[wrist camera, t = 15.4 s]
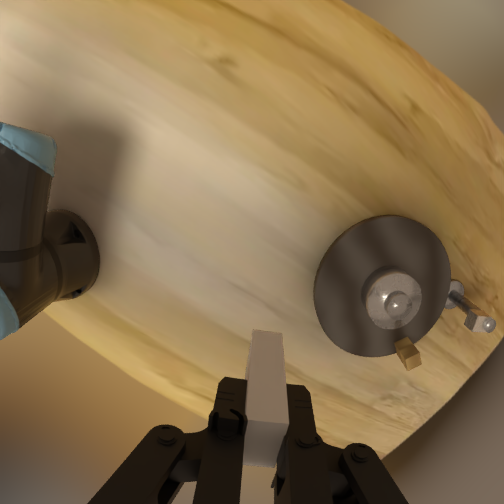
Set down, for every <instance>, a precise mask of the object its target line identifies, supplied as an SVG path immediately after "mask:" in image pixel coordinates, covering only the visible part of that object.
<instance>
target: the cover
mask: <svg viewBox="0 0 504 504" xmlns="http://www.w3.org/2000/svg"><path fill="white" fill-rule="evenodd" d="M421 301H422V293H421V289H420V286H419V284H418V283H417V282H416V281H415V280H414V279H413V278H412V277H411V276H410V275H408V274H407V273H406V272H405V271H404V270H402V269H401V268H399V267H396V266H384V267H381V268H378V269H377V270H375V271H374V272H372V273H371V274H370V275H369V276H368V277H367V279H366V280H365V282H364V284H363V286H362V290H361V302H362V305H363V307H364V309H365V310H366V312H367V313H368V315H369V316H370V318H371V319H372V321H373V322H374V323H375V324H376V325H377V326H379V327H380V328H383V329H397V328H400V327H402V326H404V325H406V324H407V323H409V322H410V321H411V320H412V319H413V318H414V317H415V315H416V314H417V312H418V310H419V308H420V305H421Z"/></svg>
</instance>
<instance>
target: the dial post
mask: <svg viewBox="0 0 504 504" xmlns="http://www.w3.org/2000/svg"><path fill="white" fill-rule="evenodd" d="M456 306H457V307H458V308H459V309H461V310H462V311H463V312H464V313H465V314H466V315H467V317H466V320H465V323H464V325H465V326H466V327H467V328H469V329H470V330H471V331H472V332H487V333H490V332H492V331H493V330H494V329H495V326H496V321H495V320H494V319H492V317H491V316H490V315H489V314H487V313H486V312H485V311H483V310H481V309H480V308H478V307H477V306H476V305H474V304H473V303H472V302H471V301H469V300H468V299H467V298H465V297H464V287H463V285H462V284H461V283H460V282H458V281H457V280H451V283H450V290H449V295H448V299H447V301H446V304H445V308H446V309H452V308H455V307H456Z"/></svg>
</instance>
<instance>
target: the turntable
mask: <svg viewBox="0 0 504 504" xmlns="http://www.w3.org/2000/svg"><path fill="white" fill-rule="evenodd" d="M384 266H396V267H399V268H401V269H402V270H404V271H405V272H406V273H407V274H408V275H410V276H411V277H412V278H413V279H414V280H415V281H416V282H417V283H418V284H419V286H420V289H421V293H422V301H421V305H420V308H419V310H418V312H417V314H416V315H415V317H414V318H413V319H412V320H411V321H410V322H409V323H407V324H406V325H404V326H402V327H400V328H397V329H383V328H380V327H379V326H377V325H376V324H375V323H374V322H373V321H372V319H371V318H370V316H369V315H368V313H367V312H366V310H365V309H364V307H363V305H362V302H361V290H362V286H363V284H364V282H365V280H366V279H367V277H368V276H369V275H370V274H371V273H372V272H374V271H375V270H377V269H378V268H381V267H384ZM450 283H451V270H450V263H449V259H448V255H447V253H446V251H445V248H444V246H443V245H442V243H441V241H440V240H439V239H438V237H437V236H436V235H435V234H434V233H433V232H432V231H431V230H430V229H428V228H427V227H425V226H424V225H422V224H420V223H418V222H416V221H413V220H411V219H408V218H405V217H401V216H394V215H385V216H377V217H372V218H369V219H366V220H363V221H361V222H359V223H357V224H355V225H353V226H352V227H351V228H349V229H348V230H346V231H345V232H344V233H343V234H341V235H340V236H339V237H338V238H337V239H336V240H335V241H334V243H333V244H332V245H331V246H330V247H329V249H328V250H327V252H326V253H325V255H324V257H323V259H322V261H321V262H320V265H319V268H318V270H317V273H316V278H315V282H314V304H315V309H316V313H317V316H318V319H319V322H320V324H321V326H322V328H323V330H324V332H325V333H326V335H327V336H328V337H329V338H330V340H331V341H332V342H333V343H334V344H336V345H337V346H338V347H340V348H341V349H343V350H345V351H347V352H349V353H352V354H354V355H358V356H363V357H381V356H387V355H391V354H394V353H397V355H398V356H399V358H400V359H401V361H402V363H403V364H404V366H405V368H406V369H407V371H409V370H411V369H413V368H415V367H417V366H419V365H421V364H422V363H421V358H420V353H419V351H418V350H417V349H416V347H415V346H414V343H416V342H417V341H419V340H420V339H421V338H422V337H423V336H424V335H425V334H426V333H427V332H428V331H429V330H430V329H431V328H432V327H433V325H434V324H435V323H436V321H437V320H438V318H439V317H440V315H441V313H442V311H443V309H444V307H445V304H446V301H447V299H448V295H449V290H450Z"/></svg>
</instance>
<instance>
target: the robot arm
mask: <svg viewBox="0 0 504 504" xmlns="http://www.w3.org/2000/svg"><path fill="white" fill-rule="evenodd" d="M56 153H57V145H56V142H55V140H54V139H53V138H52V137H51V136H48V135H45V134H42V133H39V132H35V131H32V130H28V129H25V128H21V127H17V126H13V125H10V124H6V123H2V122H0V340H2V339H3V338H5V337H6V336H8V335H9V334H11V333H14V332H16V331H17V330H18V329H19V328H21V327H22V326H23V325H24V324H25V323H27V322H28V321H29V320H30V319H32V318H33V317H34V316H36V315H37V314H38V313H39V312H41V311H42V310H43V309H45V308H46V307H47V306H48V305H50V304H51V303H52V302H55V301H62V300H69V299H74V298H76V297H78V296H80V295H82V294H83V293H84V292H86V291H87V290H88V289H89V288H90V287H91V286H92V285H93V283H94V282H95V280H96V277H97V274H98V270H99V251H98V246H97V243H96V240H95V237H94V235H93V233H92V231H91V230H90V228H89V227H88V225H87V224H86V223H85V222H84V221H83V220H82V219H81V218H80V217H79V216H77V215H76V214H74V213H72V212H70V211H67V210H53V211H49V212H47V208H48V201H49V195H50V189H51V183H52V178H53V177H54V175H55V173H54V165H55V159H56ZM276 462H277V471H276V474H275V477H274V479H273V482H272V485H271V488H274V504H409V503H408V502H407V500H406V499H405V497H404V496H403V494H402V493H401V491H400V490H399V488H398V486H397V485H396V483H395V482H394V481H393V479H392V477H391V476H390V474H389V473H388V471H387V470H386V468H385V466H384V465H383V463H382V462H381V460H380V459H379V457H378V455H377V454H376V452H375V451H374V450H373V449H372V448H371V447H369V446H367V445H366V444H361V443H353V444H350V445H348V446H347V447H346V448H345V449H341V448H338V447H334V446H331V445H328V444H326V443H325V442H323V440H322V438H321V437H320V436H319V435H318V434H317V432H316V426H315V420H314V414H313V409H312V403H311V396H310V392H309V391H308V390H307V389H306V387H305V386H304V385H293V384H286V376H285V363H284V351H283V340H282V333H276V332H268V331H261V330H254V329H253V331H252V337H251V343H250V349H249V355H248V361H247V367H246V374H245V380H244V379H237V378H230V377H224V378H223V379H222V380H221V381H220V382H219V384H218V389H217V394H216V399H215V403H214V408H213V410H212V411H211V413H210V415H209V421H208V427H207V428H206V429H204V430H202V431H200V432H196V433H183V432H182V431H181V429H179V428H177V427H175V426H172V425H159V426H156V427H154V428H152V429H151V430H150V431H149V433H148V434H147V435H146V436H145V437H144V438H143V440H142V441H141V442H140V443H139V444H138V445H137V447H136V448H135V449H134V450H133V451H132V452H131V454H130V455H129V456H128V457H127V459H126V460H125V461H124V462H123V463H122V464H121V465H120V467H119V468H118V469H117V470H116V471H115V472H114V474H113V475H112V476H111V477H110V479H108V481H107V482H106V483H105V484H104V485H103V487H102V488H101V489H100V490H99V491H98V492H97V493H96V494H95V496H94V497H93V498H92V499H91V500H90V501H89V502H88V504H171V503H172V502H173V500H174V498H175V497H176V495H177V494H178V492H179V490H180V489H181V487H182V485H183V484H184V482H191V481H192V482H193V481H197V484H196V489H195V494H194V499H193V504H239V502H240V490H241V478H242V466H243V465H250V466H260V467H272V468H274V467H275V465H276Z"/></svg>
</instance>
